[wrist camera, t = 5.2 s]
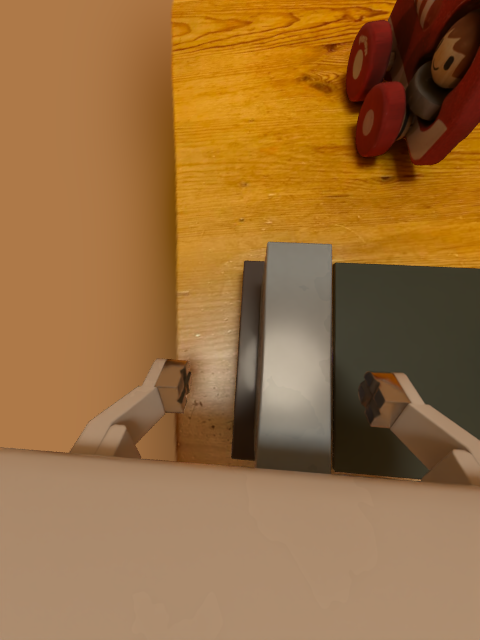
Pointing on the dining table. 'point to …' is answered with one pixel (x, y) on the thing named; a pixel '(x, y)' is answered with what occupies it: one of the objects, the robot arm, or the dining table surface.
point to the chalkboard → (402, 355)
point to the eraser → (285, 360)
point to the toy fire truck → (417, 78)
